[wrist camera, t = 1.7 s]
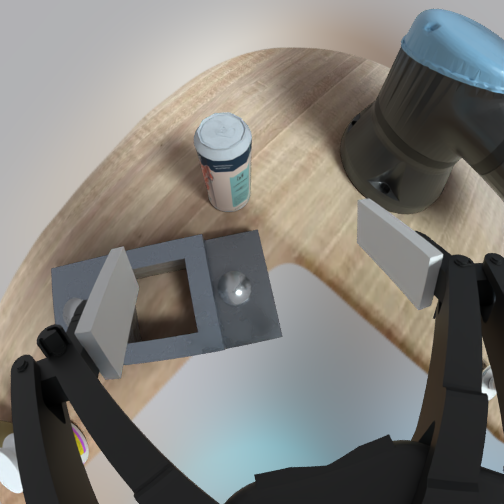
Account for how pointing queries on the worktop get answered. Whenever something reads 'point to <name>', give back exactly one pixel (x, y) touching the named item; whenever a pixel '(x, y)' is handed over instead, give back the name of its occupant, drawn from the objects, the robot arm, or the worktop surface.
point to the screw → (488, 383)
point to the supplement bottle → (6, 467)
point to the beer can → (225, 160)
